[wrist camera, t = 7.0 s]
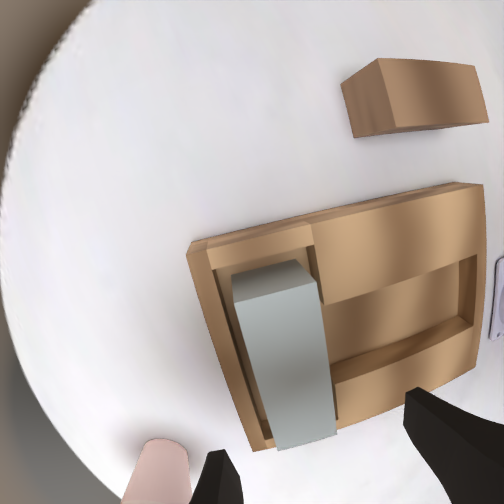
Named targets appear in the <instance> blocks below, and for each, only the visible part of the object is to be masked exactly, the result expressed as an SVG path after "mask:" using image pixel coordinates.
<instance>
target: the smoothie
mask: <svg viewBox="0 0 504 504" xmlns="http://www.w3.org/2000/svg"><path fill="white" fill-rule="evenodd" d="M191 498H192V490H191V481H190V473H189V463H188V454H187V451H186V449H185V448H184V447H183V446H181V445H180V444H178V443H176V442H174V441H171V440H167V439H153V440H150V441H148V442H146V443H145V445H144V447H143V450H142V452H141V454H140V457H139V459H138V462H137V464H136V466H135V469H134V471H133V474H132V476H131V479H130V481H129V484H128V486H127V488H126V491H125V493H124V496H123V498H122V501H121V504H189V502H190V500H191Z"/></svg>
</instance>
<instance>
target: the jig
mask: <svg viewBox="0 0 504 504" xmlns="http://www.w3.org/2000/svg"><path fill="white" fill-rule="evenodd" d="M186 258H187V261H188V265H189V268H190V272H191V275H192V278H193V282H194V285H195V288H196V292H197V295H198V298H199V301H200V305H201V308H202V311H203V314H204V317H205V320H206V323H207V327H208V330H209V333H210V336H211V339H212V342H213V345H214V348H215V351H216V354H217V357H218V360H219V362H220V365H221V368H222V371H223V374H224V377H225V380H226V382H227V385H228V388H229V391H230V393H231V396H232V399H233V402H234V404H235V407H236V410H237V412H238V415H239V418H240V420H241V423H242V425H243V428H244V431H245V433H246V436H247V438H248V441H249V443H250V446H251V448H252V451H253V452H256V451H260V450H265V449H270V448H274V447H276V444H275V441H274V438H273V434H272V431H271V428H270V425H269V422H268V418H267V415H266V412H265V409H264V405H263V402H262V399H261V395H260V392H259V389H258V385H257V382H256V379H255V375H254V372H253V369H252V365H251V362H250V358H249V355H248V351H247V348H246V345H245V341H244V338H243V334H242V331H241V327H240V323H239V320H238V316H237V313H236V309H235V306H234V300H233V291H232V282H231V275H232V274H236V273H240V272H244V271H248V270H252V269H256V268H260V267H264V266H268V265H272V264H276V263H280V262H284V261H288V260H292V259H296V260H297V261H298V262H299V263H300V264H301V265H302V266H303V268H304V269H305V270H306V271H307V272H308V273H309V274H310V275H311V276H312V277H313V279H314V280H315V281H316V283H317V288H318V294H319V300H320V307H321V313H322V319H323V326H324V332H325V339H326V346H327V353H328V361H329V368H330V376H331V384H332V392H333V401H334V409H335V419H336V428H337V430H338V429H341V428H344V427H347V426H350V425H352V424H355V423H358V422H361V421H363V420H366V419H369V418H371V417H374V416H376V415H379V414H381V413H384V412H386V411H389V410H391V409H393V408H396V407H398V406H400V405H403V404H405V392H408V391H410V390H412V389H414V388H416V387H420V388H422V389H424V390H426V391H428V392H430V391H432V390H434V389H436V388H438V387H440V386H442V385H444V384H446V383H448V382H450V381H452V380H453V379H455V378H457V377H459V376H461V375H462V374H464V373H466V372H468V371H469V370H471V369H473V368H474V367H475V366H476V360H477V355H478V349H479V342H480V335H481V328H482V320H483V310H484V299H485V284H486V215H485V200H484V189H483V185H481V184H471V183H459V182H452V183H448V184H443V185H438V186H433V187H428V188H423V189H418V190H414V191H409V192H404V193H399V194H395V195H390V196H385V197H381V198H376V199H372V200H367V201H363V202H358V203H354V204H349V205H345V206H340V207H336V208H331V209H327V210H323V211H318V212H314V213H310V214H305V215H301V216H297V217H292V218H288V219H284V220H280V221H276V222H271V223H267V224H263V225H259V226H255V227H251V228H247V229H243V230H239V231H234V232H230V233H226V234H222V235H218V236H214V237H210V238H206V239H202V240H199V241H195V242H191V245H190V247H189V249H188V251H187V253H186Z"/></svg>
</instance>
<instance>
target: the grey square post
mask: <svg viewBox="0 0 504 504" xmlns="http://www.w3.org/2000/svg"><path fill="white" fill-rule="evenodd" d="M231 282H232V291H233V300H234V306H235V309H236V313H237V316H238V320H239V323H240V327H241V331H242V334H243V338H244V341H245V345H246V348H247V351H248V355H249V358H250V362H251V365H252V369H253V372H254V375H255V379H256V382H257V385H258V389H259V392H260V395H261V399H262V402H263V405H264V409H265V412H266V415H267V418H268V422H269V425H270V428H271V431H272V434H273V438H274V441H275V444H276V447H277V450H278V451H281V450H285V449H289V448H293V447H296V446H300V445H304V444H307V443H311V442H314V441H318V440H321V439H324V438H327V437H331V436H334V435H337V428H336V419H335V409H334V401H333V392H332V384H331V376H330V368H329V361H328V353H327V346H326V339H325V332H324V326H323V319H322V313H321V307H320V300H319V294H318V288H317V283H316V281H315V280H314V279H313V277H312V276H311V275H310V274H309V273H308V272H307V271H306V270H305V269H304V268H303V266H302V265H301V264H300V263H299V262H298V261H297V260H296V259H292V260H288V261H284V262H280V263H276V264H272V265H268V266H264V267H260V268H256V269H252V270H248V271H244V272H240V273H236V274H232V275H231Z"/></svg>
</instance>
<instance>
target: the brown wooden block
mask: <svg viewBox="0 0 504 504" xmlns="http://www.w3.org/2000/svg"><path fill="white" fill-rule="evenodd" d="M340 85H341V89H342V92H343V96H344V100H345V104H346V107H347V111H348V115H349V119H350V124H351V128H352V132H353V137H354V138H358V137H366V136H374V135H382V134H391V133H400V132H410V131H421V130H434V129H444V128H450V127H457V126H464V125H472V124H480V123H488V122H489V119H488V115H487V110H486V106H485V102H484V98H483V94H482V90H481V86H480V83H479V79H478V76H477V73H476V69H475V66H472V65H465V64H458V63H450V62H440V61H429V60H415V59H392V58H377V59H376V60H374V61H373V62H371V63H370V64H368V65H367V66H365V67H364V68H363V69H361V70H360V71H358V72H357V73H356V74H354V75H353V76H351V77H350V78H349V79H347V80H346V81H344V82H343V83H342V84H340Z"/></svg>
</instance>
